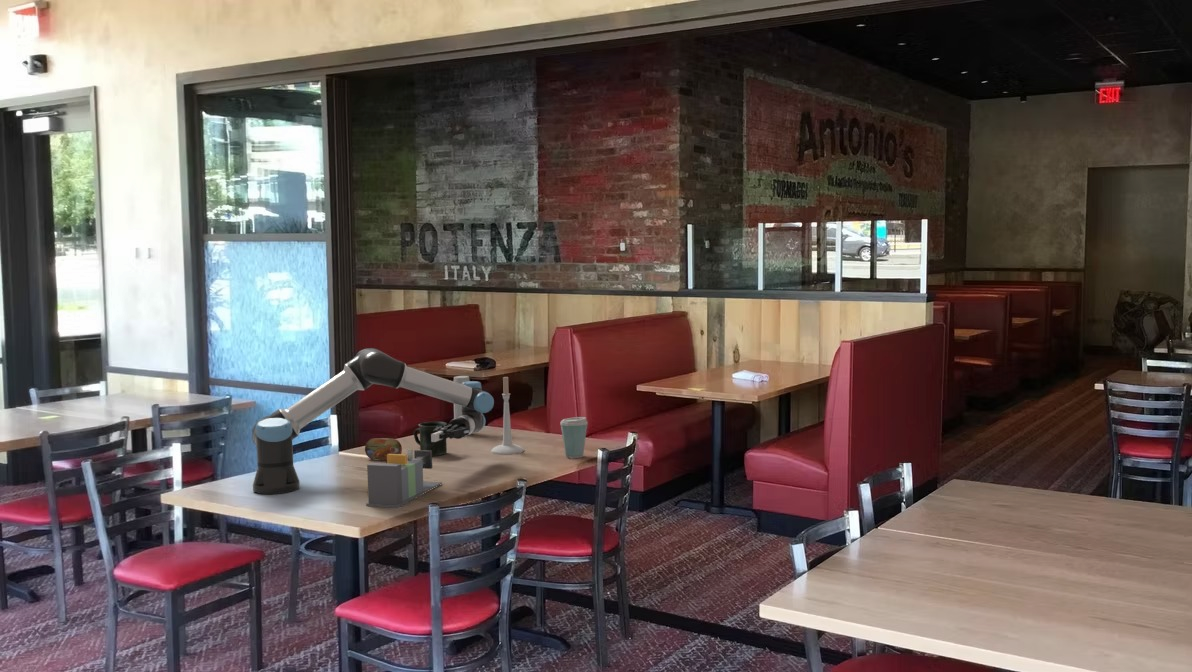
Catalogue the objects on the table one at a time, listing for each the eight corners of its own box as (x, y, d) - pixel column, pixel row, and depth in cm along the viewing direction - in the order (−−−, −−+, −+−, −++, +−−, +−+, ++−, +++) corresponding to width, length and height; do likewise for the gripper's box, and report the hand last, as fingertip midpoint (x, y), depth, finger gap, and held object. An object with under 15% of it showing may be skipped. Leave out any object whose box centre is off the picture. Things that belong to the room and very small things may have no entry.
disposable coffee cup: (560, 459, 386) (559, 420, 385) (560, 454, 397) (559, 416, 395) (588, 459, 386) (587, 420, 385) (588, 453, 397) (587, 415, 396)
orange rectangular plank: (389, 462, 331) (389, 453, 330) (407, 463, 329) (407, 454, 329) (387, 463, 329) (386, 454, 329) (405, 464, 327) (404, 455, 327)
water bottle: (454, 435, 440) (452, 378, 438) (454, 432, 448) (453, 376, 446) (475, 435, 441) (473, 377, 439) (475, 431, 449) (474, 375, 447)
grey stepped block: (412, 483, 352) (411, 445, 351) (441, 484, 349) (440, 447, 347) (366, 505, 321) (364, 465, 320) (398, 507, 318) (396, 466, 317)
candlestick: (496, 447, 412) (494, 374, 409) (527, 448, 410) (525, 374, 407) (487, 454, 399) (485, 378, 397) (519, 454, 397) (517, 378, 395)
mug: (437, 457, 394) (436, 427, 393) (406, 454, 401) (405, 424, 400) (453, 452, 404) (452, 422, 403) (423, 449, 411) (422, 420, 410)
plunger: (416, 467, 349) (415, 443, 348) (432, 468, 347) (431, 443, 346) (392, 478, 332) (391, 452, 332) (409, 479, 331) (408, 453, 330)
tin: (364, 459, 393) (364, 438, 393) (369, 457, 396) (368, 436, 396) (399, 461, 389) (398, 439, 388) (403, 459, 392) (402, 438, 391)
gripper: (477, 438, 374) (450, 449, 352) (444, 436, 378) (416, 447, 355) (477, 417, 374) (450, 428, 351) (444, 416, 377) (415, 426, 355)
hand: (433, 438), depth 353 cm, fingers closed
